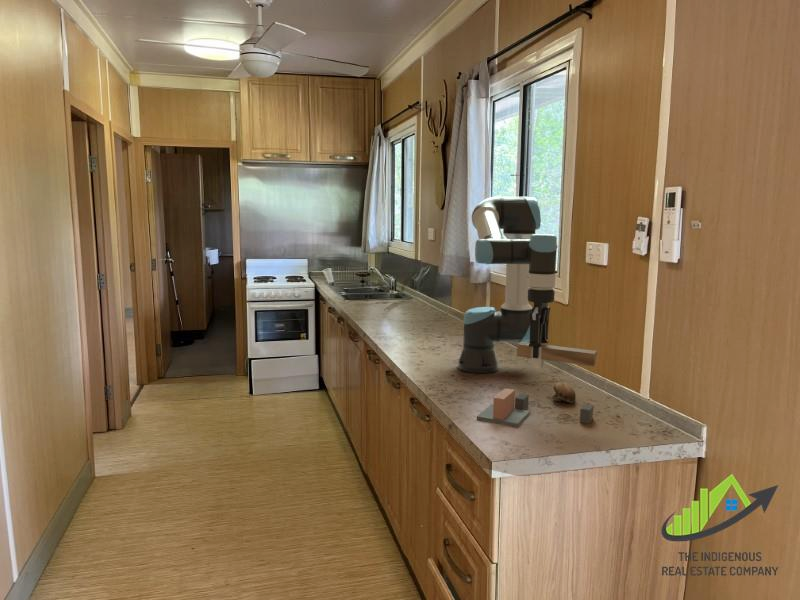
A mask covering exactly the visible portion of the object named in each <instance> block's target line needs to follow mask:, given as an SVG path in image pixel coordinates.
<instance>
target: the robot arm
mask: <svg viewBox="0 0 800 600" xmlns="http://www.w3.org/2000/svg"><path fill="white" fill-rule="evenodd" d="M541 217H542V216H541V209H540V204H539V202H538V199H536V198H535V197H532V196H531V197H530V196H492V197H488V198H486V199H484V200H482V201H481V202H479V203H478V204H477V205H476V206H475V207H474V209H473V211H472V214H471V223H472V225H473V227H474V228H475V230H476V231H477V232H476V233H477V238H478V239H477V240H476V241H475V245H474V259H475V262H476V263H477V264H481V265H482V264H484V265H506V266H505V267H506V268H505V269H506V270H505V289H504V290H505V291H504V293H505V294H504V297H505V298H504V299H505V300H504V303H503V304H501V306H500V311H499V310H498V311H497V310H496V308H495V307H493V306H482V307H481V306H479V307H474V308H473V307H472V308H469V309H467V310H466V311H465V312H464V315H463V321H462V323H463V340H462V341H463V342H462V343H463V345H462V346H463V347H462V350H461V353H460V357H459V359H458V363H457V367H458V369H459V370H460V371H462V370H463V371H462V372H465V371H466V373H470V374H490V373H494V372H495V373H496V372H497V371H498V370H499V362H498V358H497V355H496V352H495V343H517V344H518V343H520V342H526V343H530V344H529V346H531V347H532V354H531V358H530V368H531V369H536V370H541V368H542V366H545V365H546V360H542V359H541V353H542V347H540V346H541V344H543V345H547V344H549V342H550V340H549V327H550V326H549V325H550V324H549V323H550V314H551V313H550V311H551V307H550V306H548V304H549V303H550V304H551V303H553V302H555V291H556V290H555V289H554V288H555V287H556V269H557V268H556V266H557V251H558V250H557V249H558V243H557V241H558V240H557V239H558V238H557V235H555V234H551V233H536V230H539V229H540V228H541V223H542V222H541ZM501 230H502V231H501ZM502 232H503V233H502ZM503 235H504V236H505V238H504V237H503ZM529 302H531V303H533V307H532V305H531V304H530V303H529Z"/></svg>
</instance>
